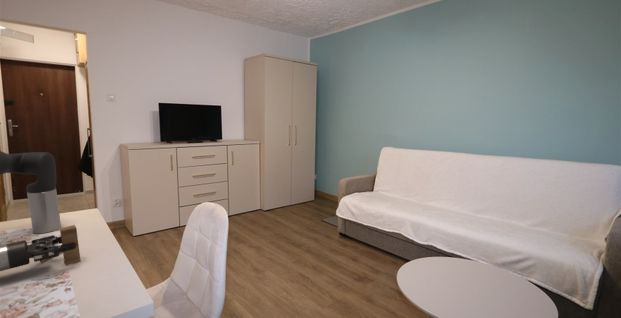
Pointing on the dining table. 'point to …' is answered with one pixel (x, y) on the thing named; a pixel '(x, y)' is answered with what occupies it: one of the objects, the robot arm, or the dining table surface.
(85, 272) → the dining table surface
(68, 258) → the pillar
